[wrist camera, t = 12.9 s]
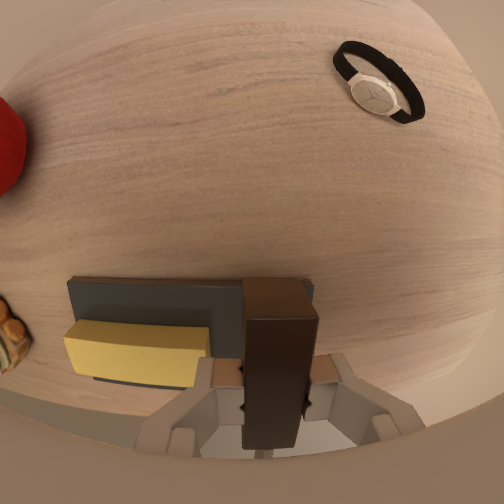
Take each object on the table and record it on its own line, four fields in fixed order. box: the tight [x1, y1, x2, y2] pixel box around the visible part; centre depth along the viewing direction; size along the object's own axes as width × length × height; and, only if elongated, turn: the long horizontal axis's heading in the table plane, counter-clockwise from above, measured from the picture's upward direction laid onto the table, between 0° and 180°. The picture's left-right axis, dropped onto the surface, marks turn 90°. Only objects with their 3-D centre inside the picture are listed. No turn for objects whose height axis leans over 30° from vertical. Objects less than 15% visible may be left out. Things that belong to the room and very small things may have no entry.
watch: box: [333, 41, 425, 124], centre depth 15 cm, size 8×5×4 cm, turn 57°
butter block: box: [63, 319, 211, 387], centre depth 19 cm, size 11×4×3 cm, turn 89°
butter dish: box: [67, 277, 314, 391], centre depth 21 cm, size 19×10×1 cm, turn 89°
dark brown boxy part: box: [241, 278, 319, 459], centre depth 10 cm, size 2×12×3 cm, turn 178°
